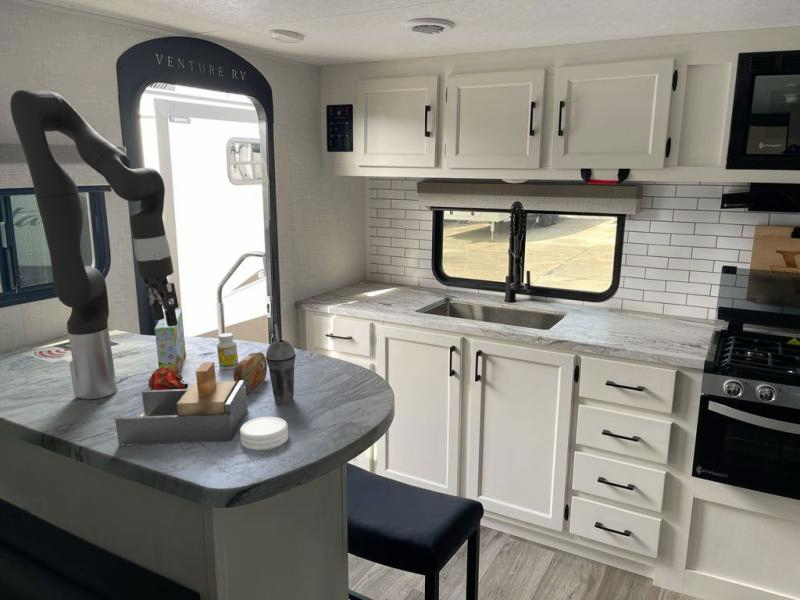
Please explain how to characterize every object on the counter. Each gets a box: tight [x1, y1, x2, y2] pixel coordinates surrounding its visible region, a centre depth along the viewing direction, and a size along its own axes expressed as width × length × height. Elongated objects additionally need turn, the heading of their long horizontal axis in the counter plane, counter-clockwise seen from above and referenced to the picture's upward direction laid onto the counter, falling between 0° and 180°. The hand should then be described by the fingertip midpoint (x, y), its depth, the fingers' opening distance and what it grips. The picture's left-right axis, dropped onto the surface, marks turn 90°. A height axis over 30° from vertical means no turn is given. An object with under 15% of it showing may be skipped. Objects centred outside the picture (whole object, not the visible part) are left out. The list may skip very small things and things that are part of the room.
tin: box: [233, 351, 268, 395], centre depth 161 cm, size 15×3×8 cm, turn 168°
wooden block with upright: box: [177, 361, 237, 415], centre depth 138 cm, size 10×12×13 cm
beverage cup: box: [265, 323, 297, 405], centre depth 150 cm, size 7×7×20 cm
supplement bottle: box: [216, 332, 239, 370], centre depth 177 cm, size 5×5×10 cm
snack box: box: [154, 309, 187, 375], centre depth 177 cm, size 21×6×15 cm, turn 14°
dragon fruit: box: [148, 367, 189, 390], centre depth 156 cm, size 8×8×12 cm
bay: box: [114, 380, 248, 446], centre depth 138 cm, size 24×16×8 cm, turn 92°
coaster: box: [239, 416, 289, 451], centre depth 132 cm, size 10×10×4 cm
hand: (166, 322), depth 147 cm, fingers open, 8 cm apart
